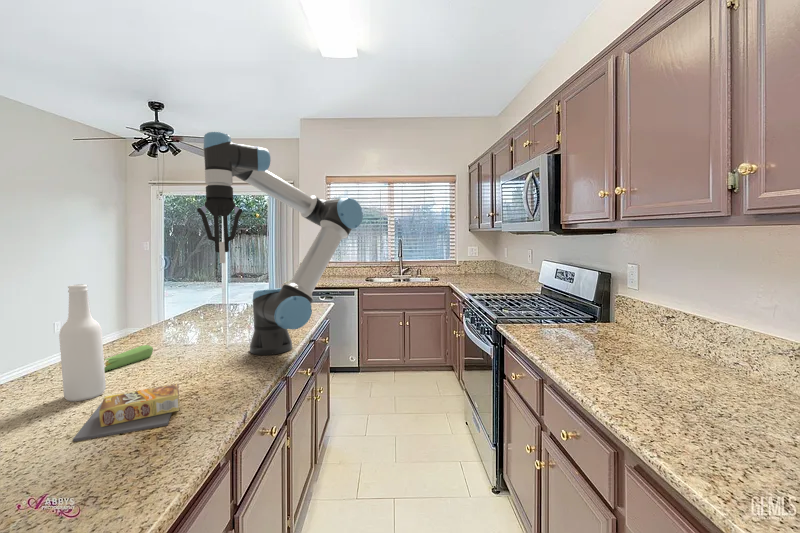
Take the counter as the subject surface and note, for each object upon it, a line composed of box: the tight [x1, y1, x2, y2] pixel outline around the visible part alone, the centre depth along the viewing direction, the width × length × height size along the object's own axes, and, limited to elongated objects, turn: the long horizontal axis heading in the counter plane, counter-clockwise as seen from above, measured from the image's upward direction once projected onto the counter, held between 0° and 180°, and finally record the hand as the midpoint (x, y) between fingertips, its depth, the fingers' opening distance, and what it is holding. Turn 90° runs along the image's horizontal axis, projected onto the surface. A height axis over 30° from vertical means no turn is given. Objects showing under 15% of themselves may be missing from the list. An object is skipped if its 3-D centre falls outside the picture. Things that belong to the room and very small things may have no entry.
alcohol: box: [58, 283, 107, 402], centre depth 103 cm, size 9×9×30 cm
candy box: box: [99, 383, 180, 427], centre depth 92 cm, size 9×4×15 cm
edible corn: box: [104, 344, 154, 373], centre depth 131 cm, size 5×20×5 cm
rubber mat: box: [72, 390, 180, 442], centre depth 93 cm, size 17×20×1 cm
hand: (222, 262), depth 119 cm, fingers closed
